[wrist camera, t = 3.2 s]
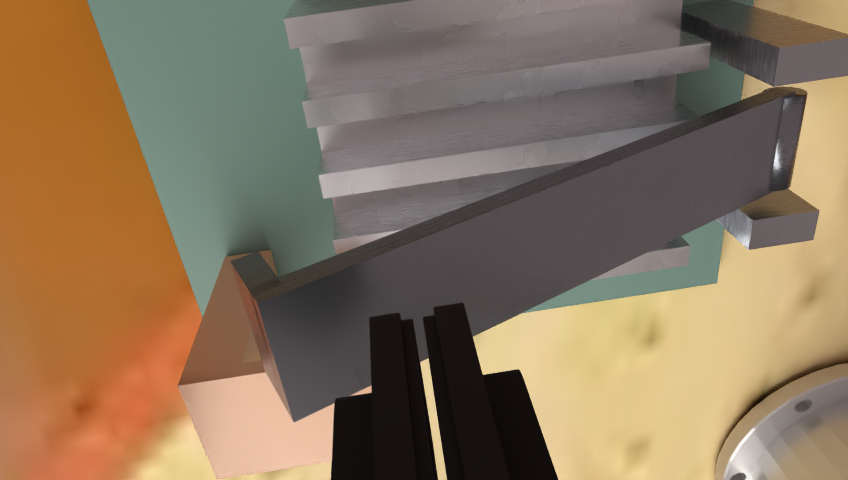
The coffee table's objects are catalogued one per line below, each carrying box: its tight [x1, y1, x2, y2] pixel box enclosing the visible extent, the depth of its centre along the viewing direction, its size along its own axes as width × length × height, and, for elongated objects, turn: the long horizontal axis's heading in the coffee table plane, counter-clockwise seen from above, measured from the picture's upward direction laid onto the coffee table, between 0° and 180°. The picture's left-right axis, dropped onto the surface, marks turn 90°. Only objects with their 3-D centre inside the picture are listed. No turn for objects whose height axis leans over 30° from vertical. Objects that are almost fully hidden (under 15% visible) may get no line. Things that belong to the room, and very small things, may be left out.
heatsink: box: [284, 0, 848, 281], centre depth 20 cm, size 14×10×6 cm
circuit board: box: [87, 0, 754, 317], centre depth 23 cm, size 22×18×1 cm
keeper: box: [178, 250, 372, 479], centre depth 22 cm, size 6×4×7 cm
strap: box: [230, 87, 807, 422], centre depth 16 cm, size 16×3×2 cm, turn 96°
